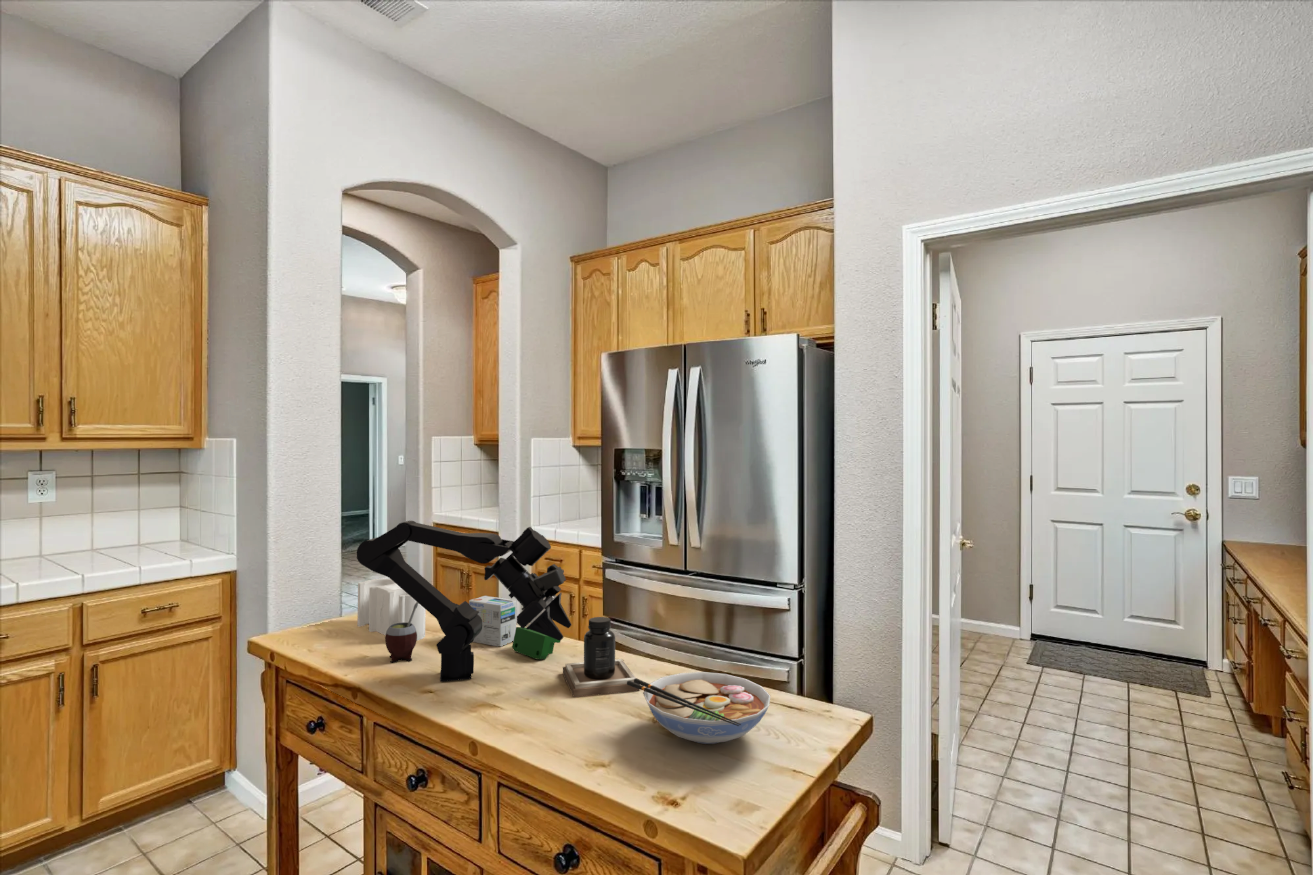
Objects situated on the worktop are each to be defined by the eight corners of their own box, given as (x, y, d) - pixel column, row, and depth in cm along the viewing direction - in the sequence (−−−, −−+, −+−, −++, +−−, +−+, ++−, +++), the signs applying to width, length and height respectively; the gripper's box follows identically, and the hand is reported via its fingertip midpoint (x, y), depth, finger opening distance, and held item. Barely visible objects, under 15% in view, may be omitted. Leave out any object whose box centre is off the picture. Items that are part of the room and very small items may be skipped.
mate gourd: (378, 661, 152) (379, 597, 152) (402, 651, 160) (403, 590, 160) (403, 666, 150) (404, 600, 150) (427, 655, 157) (428, 593, 157)
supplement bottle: (619, 671, 145) (620, 616, 145) (608, 681, 138) (609, 625, 138) (590, 667, 146) (591, 614, 146) (578, 678, 140) (579, 622, 140)
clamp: (550, 673, 159) (567, 641, 158) (531, 673, 155) (548, 640, 154) (526, 643, 167) (542, 613, 166) (508, 642, 163) (524, 611, 162)
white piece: (433, 637, 172) (434, 591, 172) (398, 645, 165) (399, 597, 165) (388, 618, 189) (389, 576, 189) (354, 625, 182) (355, 581, 182)
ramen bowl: (801, 739, 116) (802, 693, 116) (717, 784, 100) (718, 731, 100) (697, 698, 134) (697, 658, 134) (612, 731, 118) (612, 685, 118)
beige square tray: (573, 697, 133) (573, 685, 133) (562, 673, 147) (562, 663, 147) (639, 690, 137) (639, 679, 137) (623, 668, 151) (623, 658, 151)
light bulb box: (517, 640, 170) (517, 599, 170) (500, 647, 164) (501, 604, 164) (484, 634, 175) (485, 594, 175) (467, 641, 169) (467, 599, 169)
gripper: (533, 563, 134) (585, 619, 133) (552, 548, 152) (598, 597, 152) (494, 600, 134) (546, 656, 133) (518, 580, 153) (564, 629, 152)
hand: (566, 632), depth 143 cm, fingers open, 9 cm apart
